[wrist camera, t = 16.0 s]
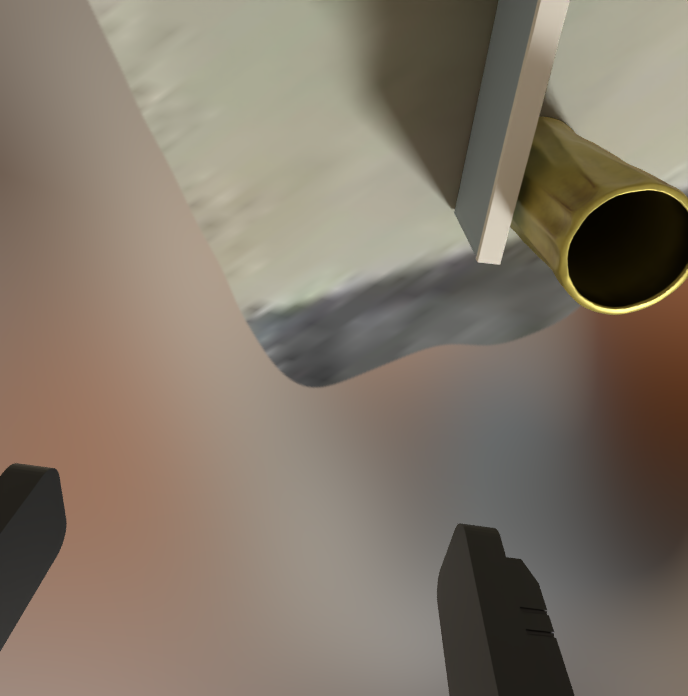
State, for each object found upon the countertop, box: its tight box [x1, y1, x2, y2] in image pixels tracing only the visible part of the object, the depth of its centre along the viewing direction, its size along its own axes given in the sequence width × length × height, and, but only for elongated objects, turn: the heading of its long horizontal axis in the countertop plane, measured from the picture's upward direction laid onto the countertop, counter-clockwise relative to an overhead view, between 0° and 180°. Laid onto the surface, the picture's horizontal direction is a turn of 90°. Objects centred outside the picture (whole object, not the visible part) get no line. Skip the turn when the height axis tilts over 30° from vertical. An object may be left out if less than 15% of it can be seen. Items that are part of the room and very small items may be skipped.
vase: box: [510, 117, 688, 315], centre depth 26 cm, size 6×6×14 cm
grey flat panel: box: [454, 0, 570, 265], centre depth 27 cm, size 14×1×9 cm, turn 174°
